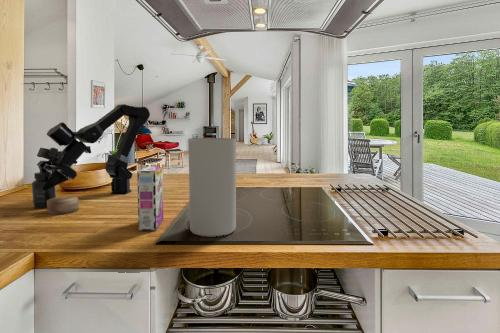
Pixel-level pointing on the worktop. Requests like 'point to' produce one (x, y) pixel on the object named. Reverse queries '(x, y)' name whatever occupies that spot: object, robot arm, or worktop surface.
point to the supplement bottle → (38, 192)
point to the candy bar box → (150, 198)
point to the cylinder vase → (212, 186)
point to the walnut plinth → (62, 205)
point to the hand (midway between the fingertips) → (39, 188)
